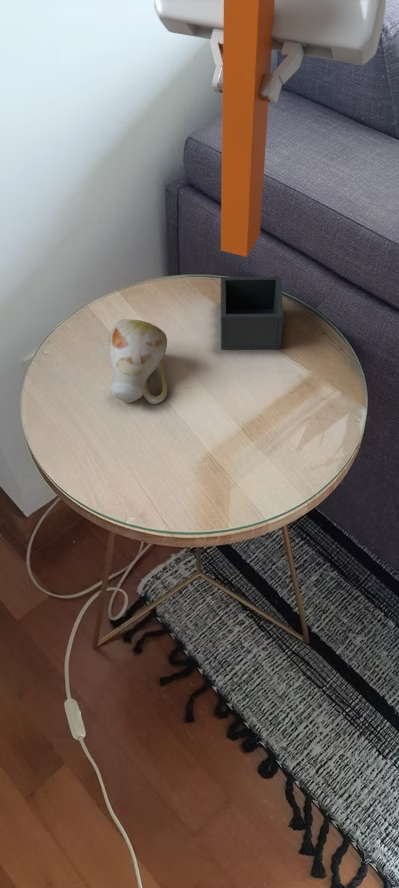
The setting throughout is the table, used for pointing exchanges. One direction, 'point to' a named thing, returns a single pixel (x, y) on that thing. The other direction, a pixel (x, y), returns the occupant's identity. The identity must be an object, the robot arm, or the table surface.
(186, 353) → the table surface
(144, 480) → the table surface
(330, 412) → the table surface
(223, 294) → the bin
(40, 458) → the table surface
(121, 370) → the mug
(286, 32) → the robot arm
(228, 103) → the block
